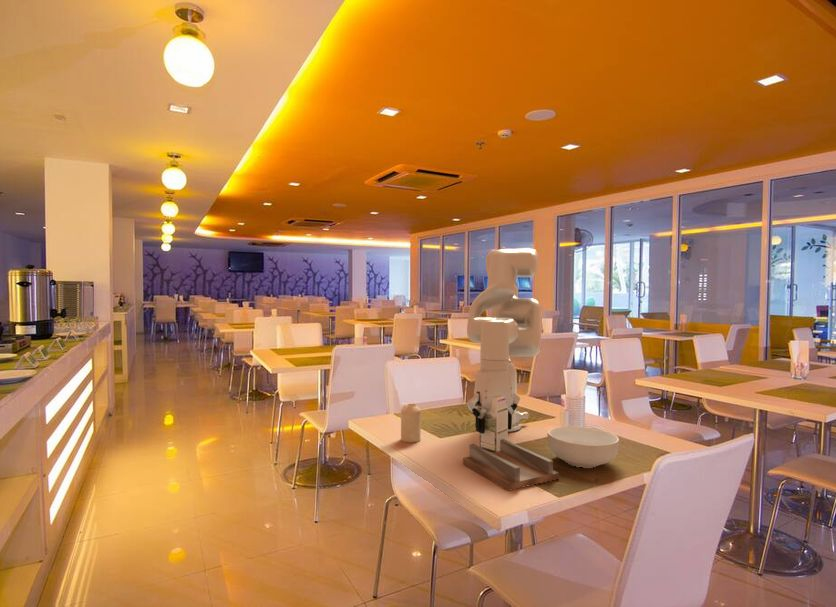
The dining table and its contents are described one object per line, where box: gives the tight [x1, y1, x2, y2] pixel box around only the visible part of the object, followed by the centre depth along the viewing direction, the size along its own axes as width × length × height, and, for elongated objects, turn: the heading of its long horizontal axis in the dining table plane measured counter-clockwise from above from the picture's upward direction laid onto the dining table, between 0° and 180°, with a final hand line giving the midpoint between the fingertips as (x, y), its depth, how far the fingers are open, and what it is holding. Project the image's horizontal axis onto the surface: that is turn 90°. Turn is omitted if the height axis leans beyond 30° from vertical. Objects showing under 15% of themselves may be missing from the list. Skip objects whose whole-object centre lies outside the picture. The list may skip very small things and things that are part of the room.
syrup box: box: [479, 396, 509, 452], centre depth 134 cm, size 6×6×14 cm
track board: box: [462, 439, 560, 491], centre depth 117 cm, size 14×18×4 cm
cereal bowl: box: [547, 426, 620, 469], centre depth 123 cm, size 17×17×7 cm
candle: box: [400, 403, 422, 443], centre depth 141 cm, size 6×6×10 cm
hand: (493, 429), depth 134 cm, fingers open, 8 cm apart
